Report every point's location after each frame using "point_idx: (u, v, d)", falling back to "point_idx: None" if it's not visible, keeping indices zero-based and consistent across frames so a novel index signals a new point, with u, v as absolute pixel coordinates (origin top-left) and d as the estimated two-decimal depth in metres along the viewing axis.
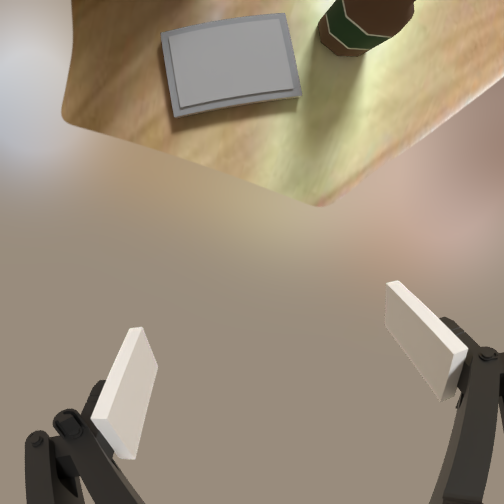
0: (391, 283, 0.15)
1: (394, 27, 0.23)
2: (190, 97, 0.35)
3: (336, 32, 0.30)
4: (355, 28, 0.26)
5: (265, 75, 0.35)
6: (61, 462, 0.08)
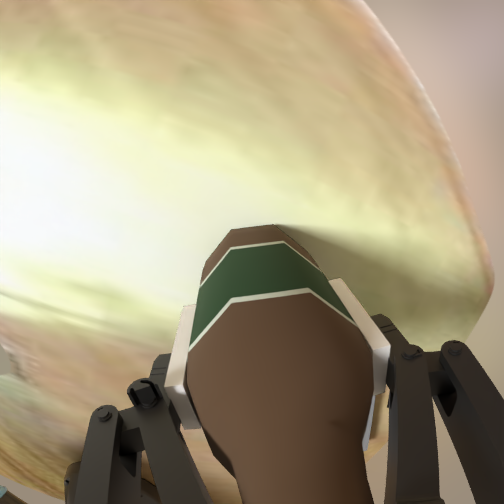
0: (333, 280, 0.17)
1: None
2: None
3: None
4: None
5: None
6: (131, 435, 0.10)
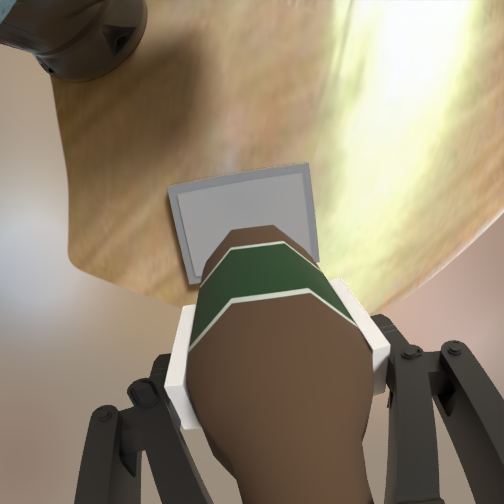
0: (333, 280, 0.17)
1: None
2: None
3: None
4: None
5: None
6: (131, 435, 0.10)
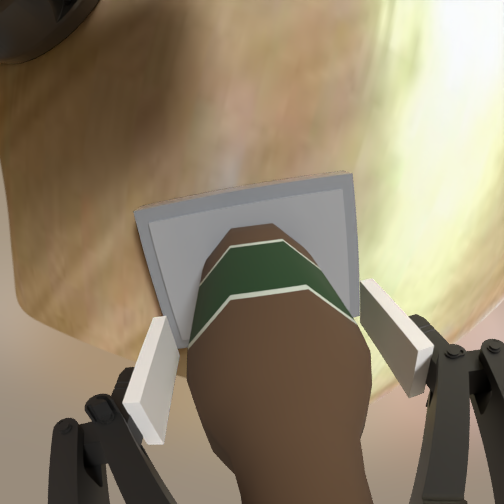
0: (365, 281, 0.16)
1: None
2: None
3: None
4: None
5: None
6: (91, 449, 0.09)
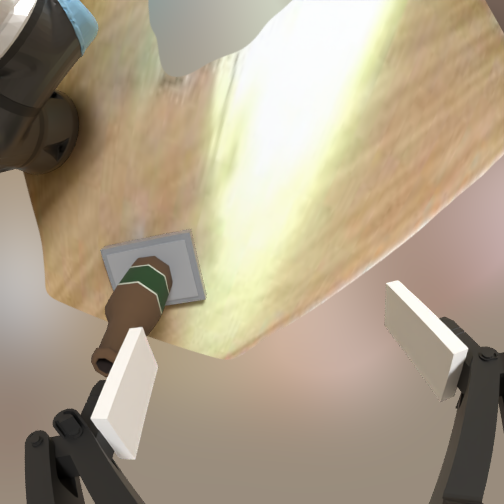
0: (391, 283, 0.15)
1: (152, 310, 0.39)
2: None
3: None
4: None
5: (177, 287, 0.52)
6: (61, 462, 0.08)
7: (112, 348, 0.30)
